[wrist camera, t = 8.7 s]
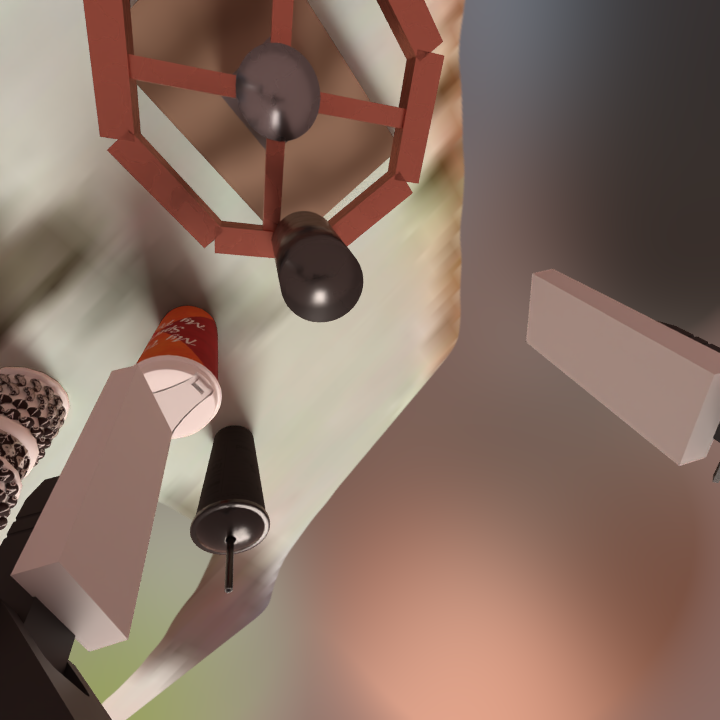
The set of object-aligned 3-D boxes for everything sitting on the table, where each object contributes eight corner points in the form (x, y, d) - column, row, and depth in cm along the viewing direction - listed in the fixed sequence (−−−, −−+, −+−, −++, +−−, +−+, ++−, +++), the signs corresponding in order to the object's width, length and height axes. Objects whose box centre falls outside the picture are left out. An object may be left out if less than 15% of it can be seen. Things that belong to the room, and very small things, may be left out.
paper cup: (195, 281, 43) (175, 345, 31) (241, 337, 47) (240, 412, 35) (132, 321, 43) (89, 399, 31) (183, 373, 47) (163, 458, 35)
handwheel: (264, 276, 34) (275, 369, 22) (59, 59, 25) (-127, 4, 13) (439, 131, 32) (563, 142, 19) (283, -169, 23) (330, -518, 10)
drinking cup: (235, 472, 56) (230, 625, 39) (188, 443, 52) (161, 600, 35) (277, 438, 55) (291, 581, 38) (233, 405, 51) (226, 550, 34)
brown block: (106, 47, 32) (57, 23, 24) (238, -97, 30) (234, -179, 22) (286, 242, 43) (295, 274, 34) (393, 146, 40) (431, 154, 32)
